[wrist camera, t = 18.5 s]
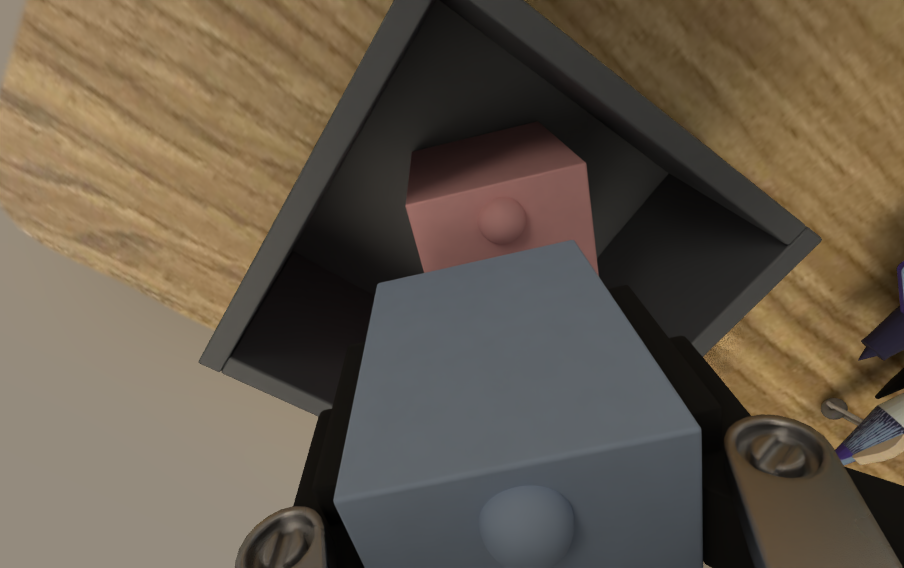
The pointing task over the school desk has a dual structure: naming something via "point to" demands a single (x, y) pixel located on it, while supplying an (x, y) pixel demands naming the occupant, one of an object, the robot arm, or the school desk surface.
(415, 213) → the pink toy
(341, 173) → the bin
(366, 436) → the block
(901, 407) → the toy airplane
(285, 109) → the school desk surface
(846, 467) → the robot arm
